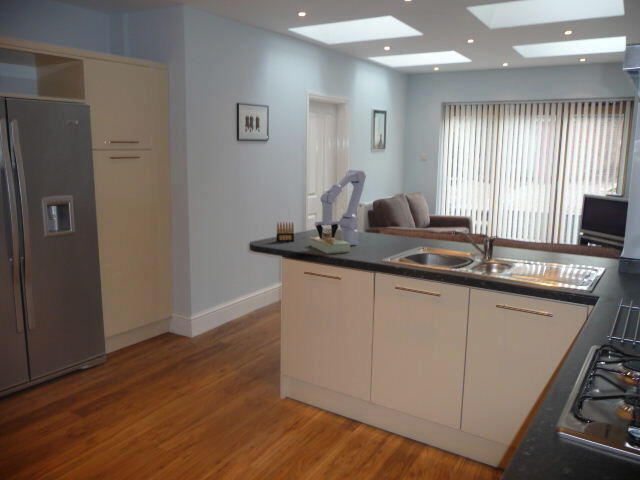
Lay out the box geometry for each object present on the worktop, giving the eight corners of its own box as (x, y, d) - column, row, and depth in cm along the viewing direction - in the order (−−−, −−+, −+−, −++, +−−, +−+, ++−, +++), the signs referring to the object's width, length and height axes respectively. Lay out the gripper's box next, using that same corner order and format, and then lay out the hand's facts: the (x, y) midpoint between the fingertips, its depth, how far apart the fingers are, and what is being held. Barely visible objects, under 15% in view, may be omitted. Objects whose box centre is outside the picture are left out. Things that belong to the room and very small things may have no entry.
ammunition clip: (276, 242, 313) (276, 222, 310) (276, 241, 314) (276, 221, 312) (294, 241, 315) (294, 221, 313) (293, 241, 317) (293, 221, 314)
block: (328, 242, 285) (328, 237, 285) (333, 244, 280) (333, 239, 279) (323, 243, 284) (323, 237, 284) (328, 245, 279) (328, 239, 278)
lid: (331, 237, 307) (332, 230, 307) (344, 242, 293) (344, 234, 292) (309, 239, 302) (310, 231, 301) (321, 244, 287) (321, 235, 286)
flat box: (331, 244, 308) (331, 236, 307) (349, 252, 287) (350, 243, 286) (309, 245, 303) (309, 237, 302) (326, 253, 281) (326, 244, 280)
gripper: (336, 212, 301) (335, 236, 303) (312, 213, 295) (312, 237, 298) (341, 214, 295) (340, 238, 297) (317, 215, 289) (317, 239, 291)
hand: (326, 237), depth 297 cm, fingers open, 7 cm apart
